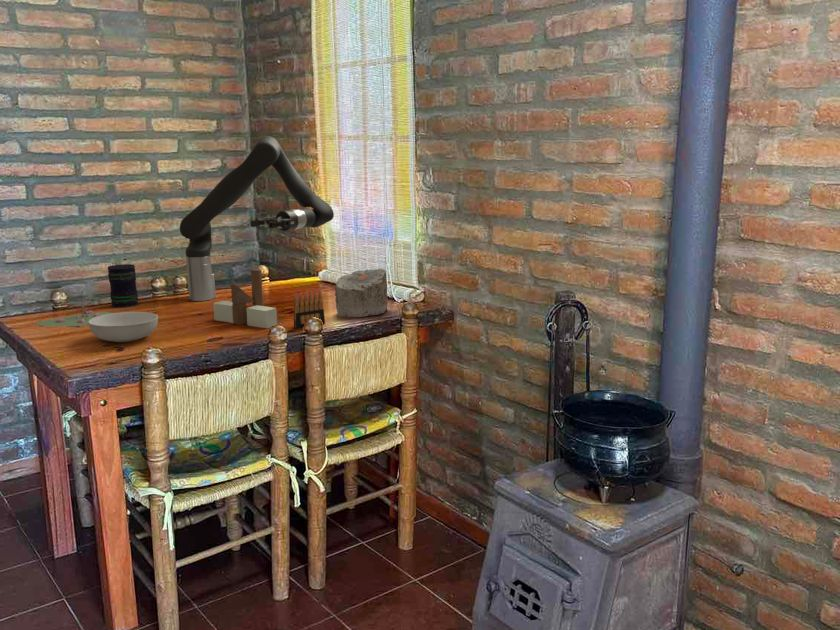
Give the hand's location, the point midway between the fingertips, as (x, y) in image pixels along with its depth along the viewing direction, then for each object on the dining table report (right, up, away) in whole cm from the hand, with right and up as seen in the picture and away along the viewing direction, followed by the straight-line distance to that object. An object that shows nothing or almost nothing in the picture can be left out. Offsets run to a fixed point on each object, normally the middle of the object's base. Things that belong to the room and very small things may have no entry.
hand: (260, 224), depth 280 cm
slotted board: (-4, -34, -6) cm, 35 cm away
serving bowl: (-38, -40, -25) cm, 60 cm away
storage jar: (-57, -28, +25) cm, 68 cm away
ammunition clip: (+19, -36, -12) cm, 42 cm away
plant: (-66, -35, +1) cm, 74 cm away
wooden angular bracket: (-2, -34, -5) cm, 35 cm away
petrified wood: (+35, -31, +6) cm, 48 cm away
